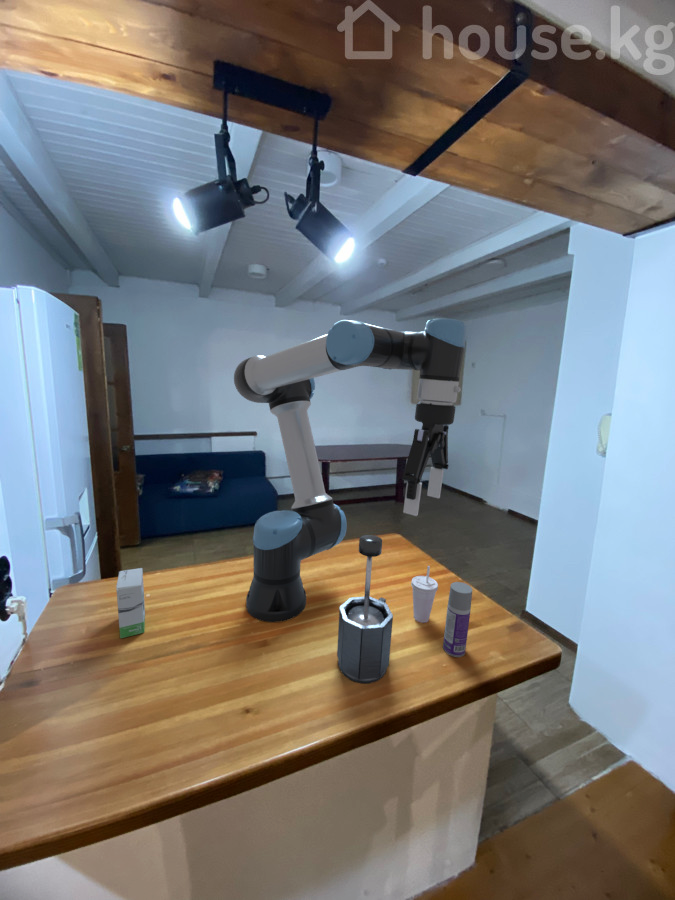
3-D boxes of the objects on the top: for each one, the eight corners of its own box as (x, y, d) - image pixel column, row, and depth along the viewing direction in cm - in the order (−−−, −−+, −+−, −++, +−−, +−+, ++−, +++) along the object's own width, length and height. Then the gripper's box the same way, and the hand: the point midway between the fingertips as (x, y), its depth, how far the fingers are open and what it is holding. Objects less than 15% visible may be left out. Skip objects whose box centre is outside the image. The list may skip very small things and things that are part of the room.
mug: (328, 667, 74) (331, 613, 71) (360, 633, 84) (363, 586, 82) (371, 692, 68) (376, 635, 66) (400, 652, 79) (405, 602, 76)
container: (466, 646, 82) (474, 585, 79) (463, 660, 77) (472, 596, 75) (444, 639, 83) (451, 579, 81) (441, 652, 79) (448, 589, 76)
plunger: (340, 621, 72) (344, 540, 69) (359, 604, 78) (364, 529, 75) (372, 637, 68) (378, 551, 65) (389, 617, 74) (396, 538, 71)
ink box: (144, 633, 81) (142, 584, 79) (119, 639, 79) (115, 589, 76) (145, 611, 88) (142, 566, 86) (121, 616, 86) (118, 570, 84)
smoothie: (435, 628, 87) (441, 574, 84) (407, 623, 88) (412, 570, 86) (433, 612, 93) (439, 561, 91) (408, 608, 94) (412, 558, 92)
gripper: (434, 407, 59) (418, 528, 64) (471, 402, 80) (457, 494, 84) (392, 402, 63) (379, 517, 68) (437, 399, 84) (425, 487, 88)
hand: (422, 504), depth 76 cm, fingers open, 13 cm apart
